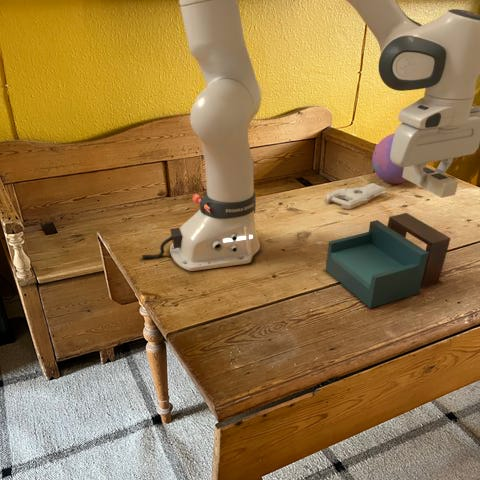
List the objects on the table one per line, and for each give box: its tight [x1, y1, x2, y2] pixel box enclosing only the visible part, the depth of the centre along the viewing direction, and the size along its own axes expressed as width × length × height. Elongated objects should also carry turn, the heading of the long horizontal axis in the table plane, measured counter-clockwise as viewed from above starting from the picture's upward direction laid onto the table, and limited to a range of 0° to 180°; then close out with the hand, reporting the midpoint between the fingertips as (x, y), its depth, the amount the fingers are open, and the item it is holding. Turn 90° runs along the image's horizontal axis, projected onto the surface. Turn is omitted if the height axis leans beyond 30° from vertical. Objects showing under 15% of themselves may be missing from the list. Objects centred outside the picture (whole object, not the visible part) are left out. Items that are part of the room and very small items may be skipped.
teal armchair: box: [325, 219, 429, 309], centre depth 109 cm, size 13×17×10 cm
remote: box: [402, 166, 459, 199], centre depth 103 cm, size 4×12×3 cm, turn 25°
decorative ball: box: [371, 132, 409, 185], centre depth 154 cm, size 15×15×15 cm
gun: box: [325, 182, 388, 210], centre depth 147 cm, size 18×3×10 cm
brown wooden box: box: [386, 212, 452, 288], centre depth 113 cm, size 5×14×11 cm, turn 25°
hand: (428, 180), depth 103 cm, fingers closed on remote, 3 cm apart
